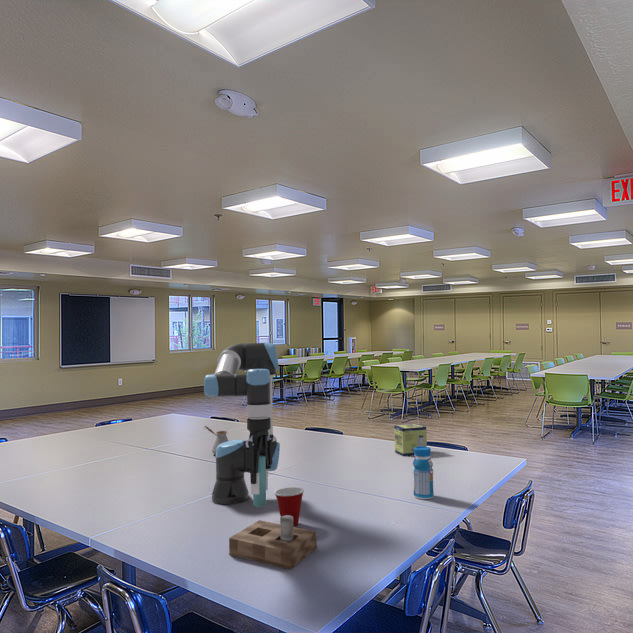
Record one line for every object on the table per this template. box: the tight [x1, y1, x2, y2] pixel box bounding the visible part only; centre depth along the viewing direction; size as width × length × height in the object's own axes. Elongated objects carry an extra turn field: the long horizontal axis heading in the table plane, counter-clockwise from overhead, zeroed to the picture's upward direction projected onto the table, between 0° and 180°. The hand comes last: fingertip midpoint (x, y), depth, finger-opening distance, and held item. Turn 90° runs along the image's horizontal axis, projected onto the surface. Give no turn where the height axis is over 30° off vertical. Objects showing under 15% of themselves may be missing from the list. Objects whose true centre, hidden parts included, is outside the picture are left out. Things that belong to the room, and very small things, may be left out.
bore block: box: [228, 515, 318, 571], centre depth 148 cm, size 16×22×11 cm
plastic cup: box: [273, 486, 305, 527], centre depth 170 cm, size 11×11×12 cm
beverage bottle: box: [412, 446, 435, 500], centre depth 196 cm, size 8×8×20 cm
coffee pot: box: [204, 425, 229, 456], centre depth 280 cm, size 21×12×15 cm, turn 52°
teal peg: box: [252, 455, 267, 508], centre depth 151 cm, size 4×4×15 cm
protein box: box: [393, 423, 428, 457], centre depth 271 cm, size 10×16×16 cm
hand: (259, 491), depth 151 cm, fingers closed on teal peg, 4 cm apart
